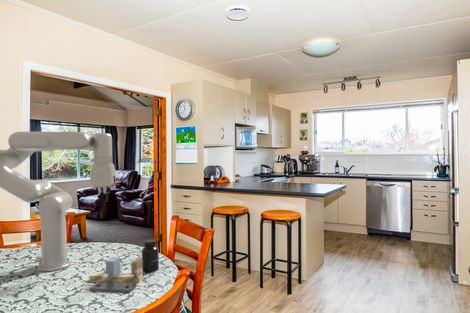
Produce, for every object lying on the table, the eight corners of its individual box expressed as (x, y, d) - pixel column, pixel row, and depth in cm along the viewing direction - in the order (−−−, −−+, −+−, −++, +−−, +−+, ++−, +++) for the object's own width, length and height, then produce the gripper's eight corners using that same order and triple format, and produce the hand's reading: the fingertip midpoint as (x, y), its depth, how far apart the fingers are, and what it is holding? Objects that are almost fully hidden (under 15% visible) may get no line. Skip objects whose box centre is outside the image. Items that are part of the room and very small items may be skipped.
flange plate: (89, 291, 111) (89, 287, 111) (97, 285, 116) (97, 282, 116) (130, 292, 109) (130, 289, 109) (136, 286, 114) (136, 283, 114)
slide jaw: (98, 282, 113) (98, 265, 113) (113, 272, 123) (112, 257, 123) (106, 282, 113) (106, 266, 113) (120, 272, 123) (120, 257, 123)
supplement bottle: (154, 273, 127) (153, 243, 127) (138, 272, 128) (138, 242, 128) (161, 267, 134) (161, 239, 134) (146, 266, 135) (146, 238, 135)
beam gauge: (79, 287, 114) (79, 265, 114) (95, 276, 124) (95, 256, 124) (132, 289, 111) (131, 267, 111) (143, 278, 121) (143, 257, 121)
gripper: (82, 161, 137) (83, 203, 137) (114, 160, 135) (115, 203, 135) (92, 161, 145) (93, 201, 145) (123, 160, 143) (124, 201, 143)
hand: (104, 202), depth 140 cm, fingers closed
